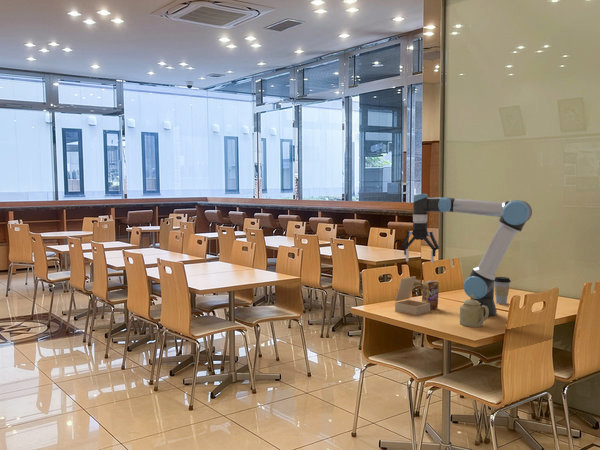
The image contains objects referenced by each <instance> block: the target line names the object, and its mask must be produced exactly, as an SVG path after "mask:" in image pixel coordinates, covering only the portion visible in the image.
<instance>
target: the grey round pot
mask: <svg viewBox="0 0 600 450" xmlns="http://www.w3.org/2000/svg"><path fill="white" fill-rule="evenodd" d="M469 298H470V299H466V300H465V301H463V302H462V303H463V304H462V305H461V306H460V307H459V324H460V325H461V326H463V327H469V328H480V327H483V325H484V322H485V321H487V319H488V317H489V316H488V315H489V309H488V307H487V306H485V305H483V306H480V304H481V303H479V302H478V301H476V300H474V295H473V294H472V295H471V296H470V297H469ZM483 308H485V316H483V310H484V309H483Z"/></svg>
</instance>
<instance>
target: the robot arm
mask: <svg viewBox="0 0 600 450" xmlns="http://www.w3.org/2000/svg"><path fill="white" fill-rule="evenodd" d="M412 200H413V201H412V203H413V204H412V205H413V206H412V222H413V223H412V231H411V230H408V231H406V236H405V238H404V240H403V242H402V243H401V245H400V248H401V249H403V255H404V256H405V262H409V257H410V255H409V253H410V249H409V248H410V246H411V245H412V244H413V243H414V242H415V240H417V241H419V240H420V241H423V240H424V241H425V243H426V244H427V245H428V246H429V247H430V249H431V250H430V263H431V264H433V263H434V257H436V251H437V250H439V249H440V247H439V244H438V242H437V240H436V238H435V236H434V232H433V231H430V232H429V231H428V223H427V222H428V212H430V213H431V212H434V213H435V212H437V213H439V212H440V213H447V212H448V213H449V212H450V213H458V214H459V213H461V214H469V215H475V216H476V215H477V216H487V217H488V216H489V217H495V218H496V217H497V218H499V219H498V224H499V227H497V230H496V232H495V234H494V235H493V237H492V240H491V241H490V243H489V245H488V246H487V248H486V251H485V252H484V255H483V256H482V258H481V260H480V262H479V264H478V265H477V266H476V267H473V269H472V270H471V272H470V274H469V275H468V277H467V278H466V279H465V280H464V283H463V290H464V293H465V294H466V295H467V296H468V297H469V298H470V296H471V295H472V294H473V295H474V300H476V301H478V302H479V303H481V304H480V306H483V305H485V306H487V307H488V309H489V315H488V317H493V316H496V315H497V308H496V302H495V301H494V299H495V298H494V296H495V281H494V280H495V277H496V275H495V273H496V272H497V269H498V268H499V265H500V264H501V262H502V260H503V258H504V257H505V254H506V253H507V251H508V249H509V248H510V245H511V244H512V241H513V240H514V239H515V236H516V234H517V233H520V232H522V231H523V228H524V226H525V225H526V223H527V222H528V221H529V220H530V219H531V218H532V214H533V209H532V207H531V205H530V204H529V203H528V202H527V201H524V200H519V199H518V200H511V201H509V200H505V201H504V202H500V201H499V202H498V201H487V200H476V199H465V198H454V197H446V196H445V197H429V196H428V194H427V193H415V194H413V199H412ZM411 235H412V236H413V237H412V238H411V239H410V240H409V238H410V237H411ZM427 236H429V237H430V239H431V240H430V239H429V238H428V237H427ZM408 240H409V241H408ZM431 241H432V242H431ZM407 242H408V243H407ZM483 309H484V310H483V317H485V308H483Z"/></svg>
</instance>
